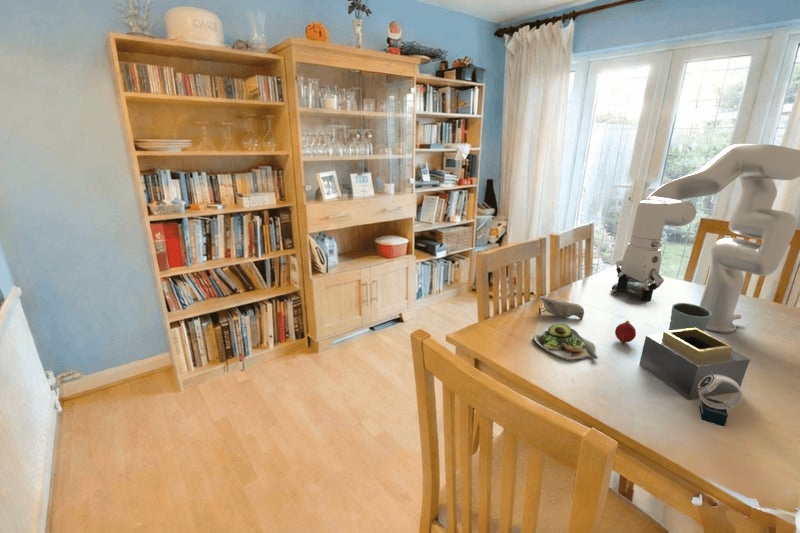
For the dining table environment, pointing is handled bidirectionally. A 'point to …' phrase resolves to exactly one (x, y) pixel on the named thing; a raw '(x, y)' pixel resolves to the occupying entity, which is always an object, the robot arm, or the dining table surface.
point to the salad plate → (565, 342)
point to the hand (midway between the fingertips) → (632, 295)
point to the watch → (713, 408)
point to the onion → (625, 332)
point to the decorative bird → (562, 308)
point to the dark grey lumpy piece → (630, 287)
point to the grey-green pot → (689, 317)
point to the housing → (692, 361)
